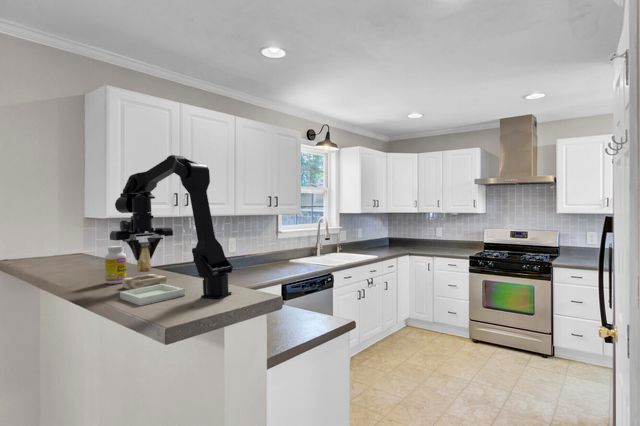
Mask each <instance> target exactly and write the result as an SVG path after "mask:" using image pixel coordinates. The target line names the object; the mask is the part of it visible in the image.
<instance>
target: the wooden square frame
mask: <svg viewBox="0 0 640 426" xmlns="http://www.w3.org/2000/svg"><path fill="white" fill-rule="evenodd" d="M159 284H166V285H168V281H167V276H164V275H160V274H155V273H150V274H149V273H148V274H147V273H146V274H143V275H142V274H141V275H135V276H129V277H127V278H123V283H122V288H124V289H127V290H132V289H137V288H143V287H148V286H154V285H159Z"/></svg>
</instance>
